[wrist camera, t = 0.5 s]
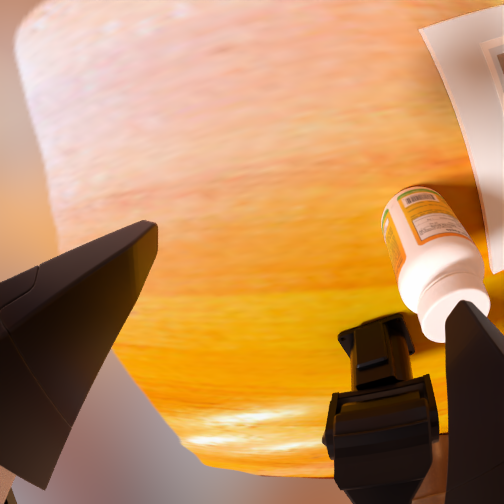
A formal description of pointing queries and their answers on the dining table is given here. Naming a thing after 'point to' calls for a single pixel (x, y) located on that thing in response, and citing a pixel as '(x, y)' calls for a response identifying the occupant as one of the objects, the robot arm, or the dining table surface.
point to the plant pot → (435, 476)
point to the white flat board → (477, 105)
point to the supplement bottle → (432, 258)
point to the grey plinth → (501, 61)
